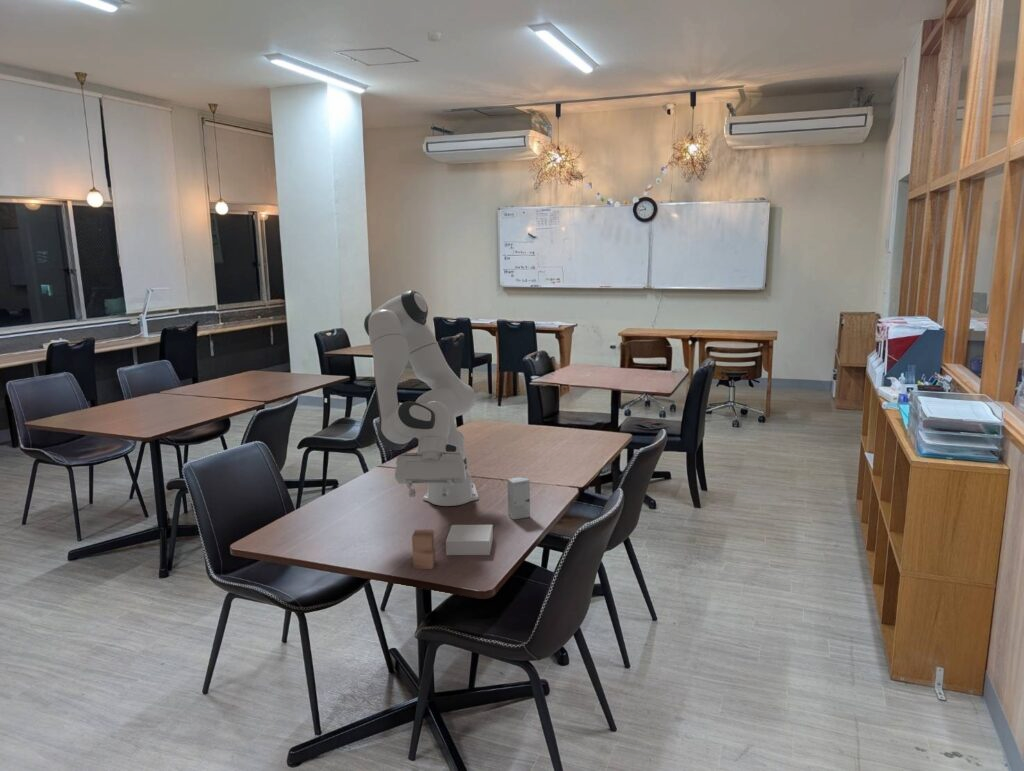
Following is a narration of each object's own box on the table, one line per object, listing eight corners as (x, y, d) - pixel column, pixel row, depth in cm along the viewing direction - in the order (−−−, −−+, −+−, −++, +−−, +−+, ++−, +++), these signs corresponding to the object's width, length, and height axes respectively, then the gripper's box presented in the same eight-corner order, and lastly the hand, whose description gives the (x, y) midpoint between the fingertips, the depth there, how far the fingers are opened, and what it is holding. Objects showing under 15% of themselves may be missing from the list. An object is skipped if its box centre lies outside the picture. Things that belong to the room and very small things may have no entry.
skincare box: (513, 520, 217) (512, 482, 214) (507, 515, 221) (506, 478, 218) (531, 516, 219) (530, 479, 217) (525, 512, 223) (524, 476, 221)
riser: (452, 537, 204) (451, 524, 203) (493, 537, 204) (492, 524, 203) (446, 555, 192) (445, 541, 192) (489, 554, 192) (489, 541, 191)
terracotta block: (417, 560, 189) (415, 529, 188) (435, 560, 189) (433, 529, 187) (413, 569, 184) (411, 536, 183) (432, 568, 184) (430, 536, 183)
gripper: (395, 447, 202) (389, 491, 194) (465, 446, 200) (462, 490, 193) (399, 458, 207) (394, 501, 199) (468, 457, 206) (465, 500, 198)
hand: (428, 495), depth 196 cm, fingers open, 8 cm apart
